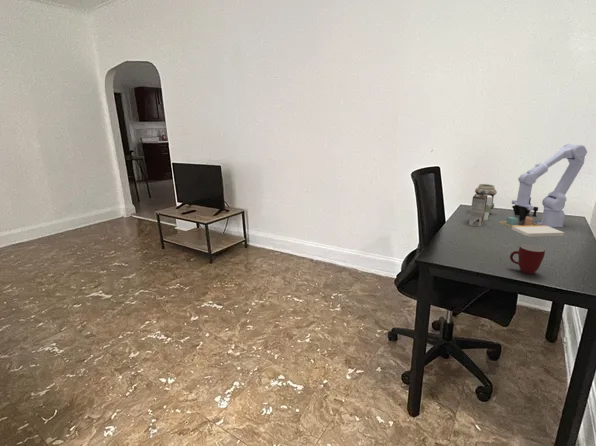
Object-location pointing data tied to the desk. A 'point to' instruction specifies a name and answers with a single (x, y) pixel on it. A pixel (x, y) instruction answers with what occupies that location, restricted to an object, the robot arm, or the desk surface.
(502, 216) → the desk surface
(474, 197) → the coffee box
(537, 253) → the mug
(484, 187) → the stone pedestal urn
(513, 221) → the light teal cube
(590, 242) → the desk surface
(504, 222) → the tan rectangular tray
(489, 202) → the syrup box
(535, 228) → the dock
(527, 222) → the block
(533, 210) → the surveillance camera
